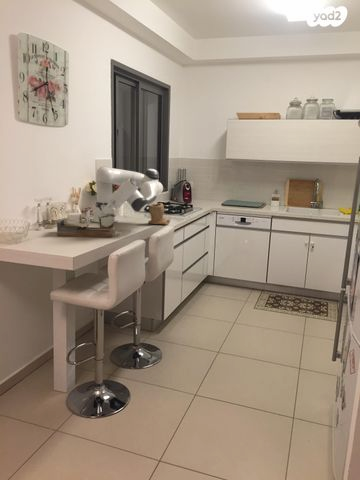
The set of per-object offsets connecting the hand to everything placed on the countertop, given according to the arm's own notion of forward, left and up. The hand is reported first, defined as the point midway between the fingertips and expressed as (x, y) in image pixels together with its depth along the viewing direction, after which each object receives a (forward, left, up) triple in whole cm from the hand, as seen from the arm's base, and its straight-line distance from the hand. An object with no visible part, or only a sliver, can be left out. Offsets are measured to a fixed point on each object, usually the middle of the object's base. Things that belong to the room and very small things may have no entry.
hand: (99, 216), depth 245 cm
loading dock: (0, -8, -11) cm, 14 cm away
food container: (-18, 0, -12) cm, 22 cm away
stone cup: (-44, +35, -12) cm, 58 cm away
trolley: (-1, -13, -8) cm, 15 cm away
